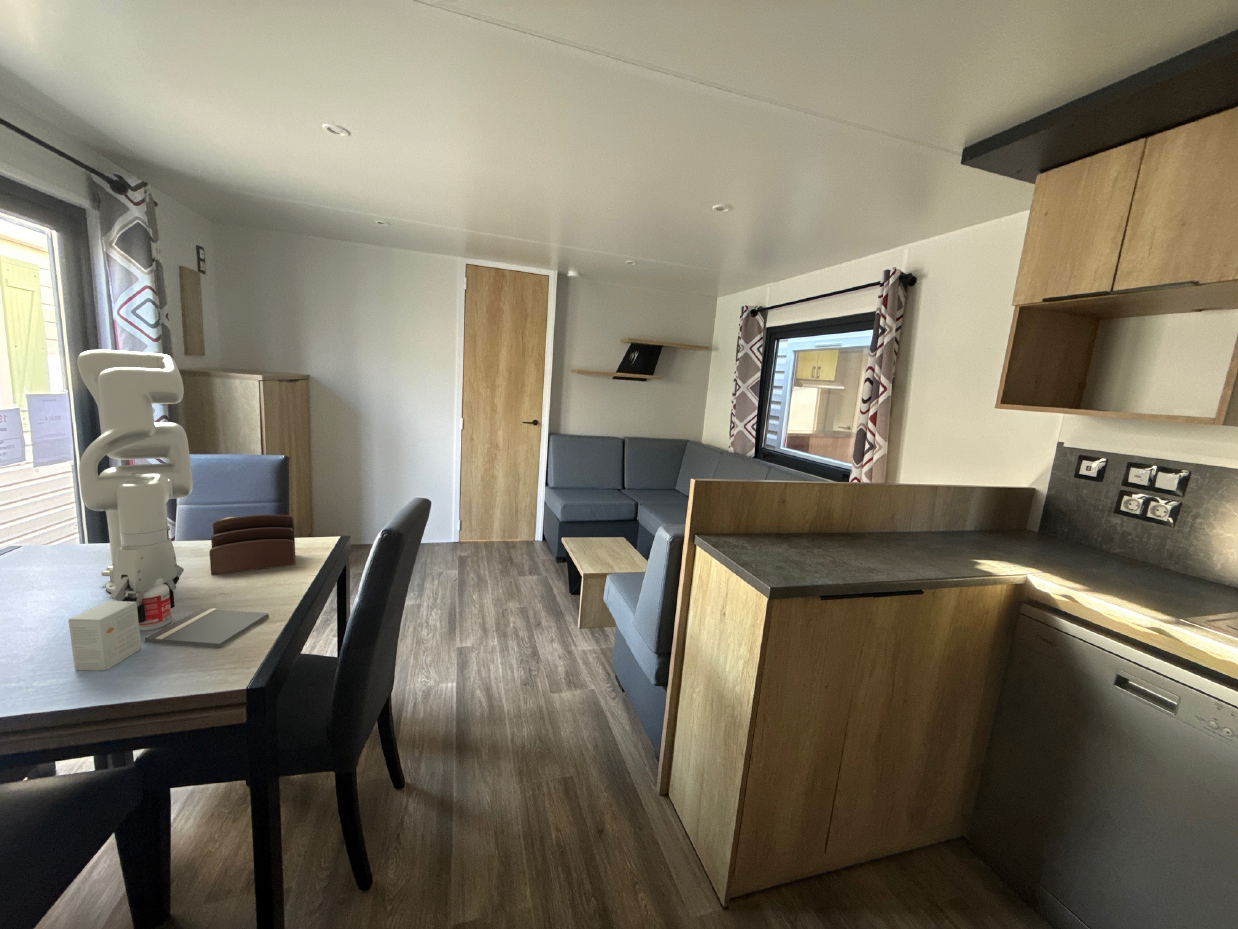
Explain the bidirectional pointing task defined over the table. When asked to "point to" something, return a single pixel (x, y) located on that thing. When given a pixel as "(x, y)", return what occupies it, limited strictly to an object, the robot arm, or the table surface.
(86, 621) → the small box
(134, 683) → the table surface
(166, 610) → the pill bottle
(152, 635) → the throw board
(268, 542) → the letter holder
